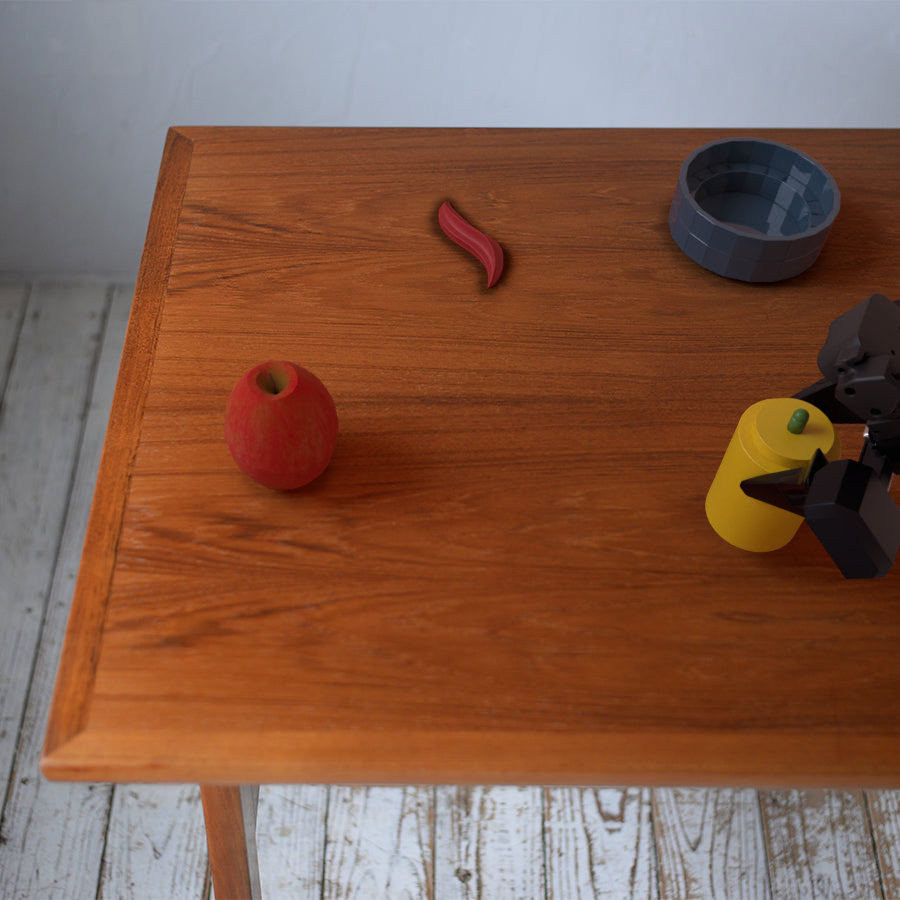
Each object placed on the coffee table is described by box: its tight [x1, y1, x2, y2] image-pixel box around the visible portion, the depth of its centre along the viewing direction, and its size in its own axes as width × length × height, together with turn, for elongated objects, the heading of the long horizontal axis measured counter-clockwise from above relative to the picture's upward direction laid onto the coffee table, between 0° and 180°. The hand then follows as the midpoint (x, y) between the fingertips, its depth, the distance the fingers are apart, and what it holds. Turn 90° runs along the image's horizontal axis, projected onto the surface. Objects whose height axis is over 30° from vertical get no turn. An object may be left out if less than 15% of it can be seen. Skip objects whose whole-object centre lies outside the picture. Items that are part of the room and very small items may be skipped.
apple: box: [222, 359, 340, 491], centre depth 69 cm, size 8×8×11 cm
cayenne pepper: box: [437, 200, 504, 289], centre depth 88 cm, size 12×5×2 cm, turn 13°
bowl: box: [667, 136, 842, 283], centre depth 88 cm, size 14×14×6 cm
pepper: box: [704, 397, 843, 553], centre depth 65 cm, size 7×7×12 cm
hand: (758, 450), depth 64 cm, fingers closed on pepper, 6 cm apart
